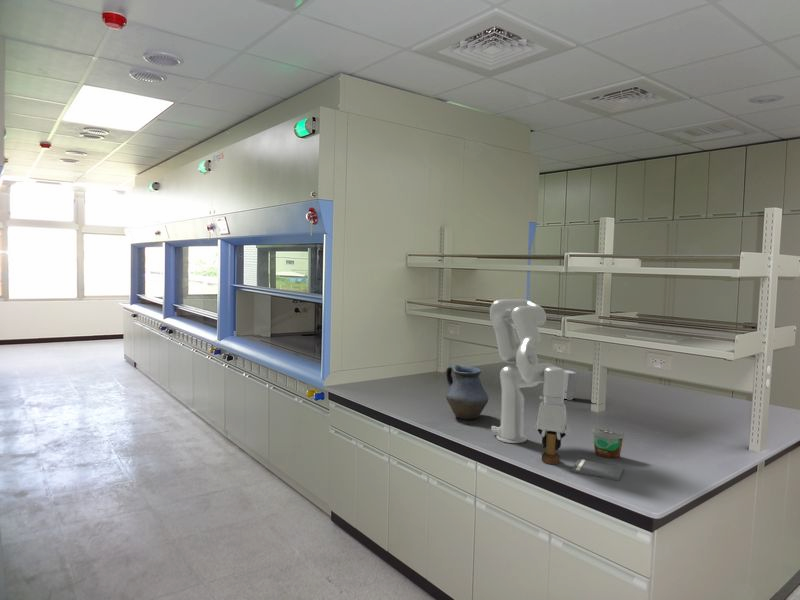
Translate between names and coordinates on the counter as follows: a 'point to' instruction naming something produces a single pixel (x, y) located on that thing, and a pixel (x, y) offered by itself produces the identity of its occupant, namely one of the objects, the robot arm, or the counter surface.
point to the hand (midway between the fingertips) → (551, 447)
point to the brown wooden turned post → (551, 449)
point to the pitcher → (465, 392)
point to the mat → (598, 469)
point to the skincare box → (570, 384)
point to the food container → (607, 443)
